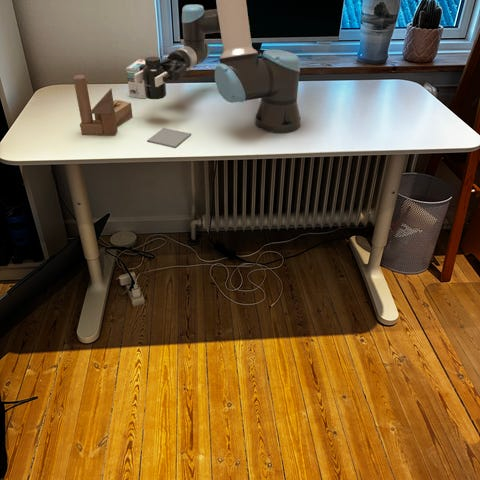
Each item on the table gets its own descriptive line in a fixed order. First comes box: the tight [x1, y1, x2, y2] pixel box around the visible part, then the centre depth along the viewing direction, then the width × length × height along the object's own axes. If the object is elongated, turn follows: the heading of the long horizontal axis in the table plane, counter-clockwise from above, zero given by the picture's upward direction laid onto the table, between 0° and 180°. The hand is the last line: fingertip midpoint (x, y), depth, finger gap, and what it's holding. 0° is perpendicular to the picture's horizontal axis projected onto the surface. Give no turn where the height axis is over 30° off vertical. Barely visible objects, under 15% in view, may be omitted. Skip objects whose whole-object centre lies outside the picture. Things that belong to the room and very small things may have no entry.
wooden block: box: [72, 74, 118, 136], centre depth 154 cm, size 4×11×18 cm, turn 87°
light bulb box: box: [125, 59, 148, 100], centre depth 184 cm, size 11×7×11 cm, turn 164°
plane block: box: [94, 99, 134, 128], centre depth 164 cm, size 6×12×8 cm, turn 157°
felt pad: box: [146, 127, 192, 149], centre depth 157 cm, size 10×10×1 cm
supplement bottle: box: [143, 56, 167, 100], centre depth 159 cm, size 7×7×12 cm
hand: (145, 80), depth 155 cm, fingers closed on supplement bottle, 7 cm apart
